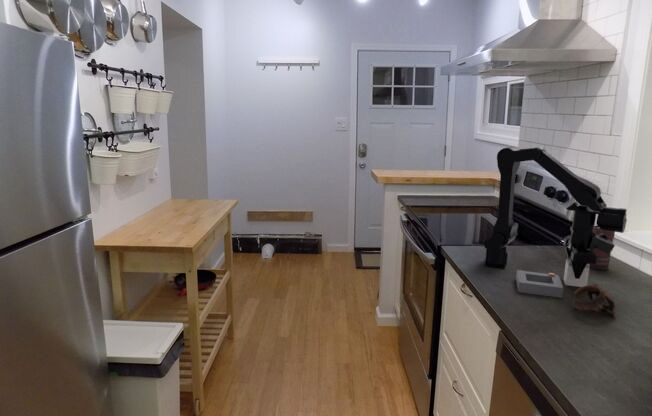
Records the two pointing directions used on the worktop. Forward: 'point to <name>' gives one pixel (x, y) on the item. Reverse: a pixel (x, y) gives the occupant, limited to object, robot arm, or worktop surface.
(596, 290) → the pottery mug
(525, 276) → the socket block
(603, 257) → the can
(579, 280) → the plug
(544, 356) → the worktop surface
